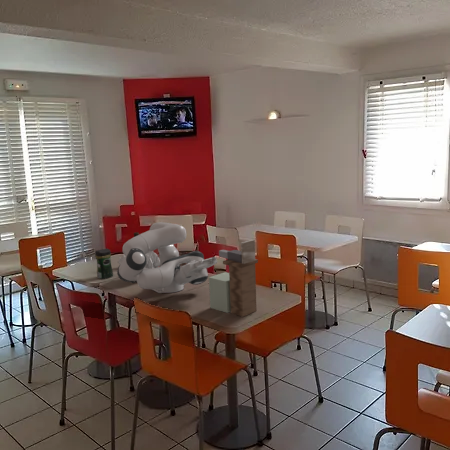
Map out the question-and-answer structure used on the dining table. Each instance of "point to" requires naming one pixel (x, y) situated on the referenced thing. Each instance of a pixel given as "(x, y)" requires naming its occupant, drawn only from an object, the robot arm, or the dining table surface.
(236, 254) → the plug
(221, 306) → the sage step
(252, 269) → the brown wooden tower
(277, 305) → the dining table surface
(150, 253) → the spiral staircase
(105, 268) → the coffee jar
